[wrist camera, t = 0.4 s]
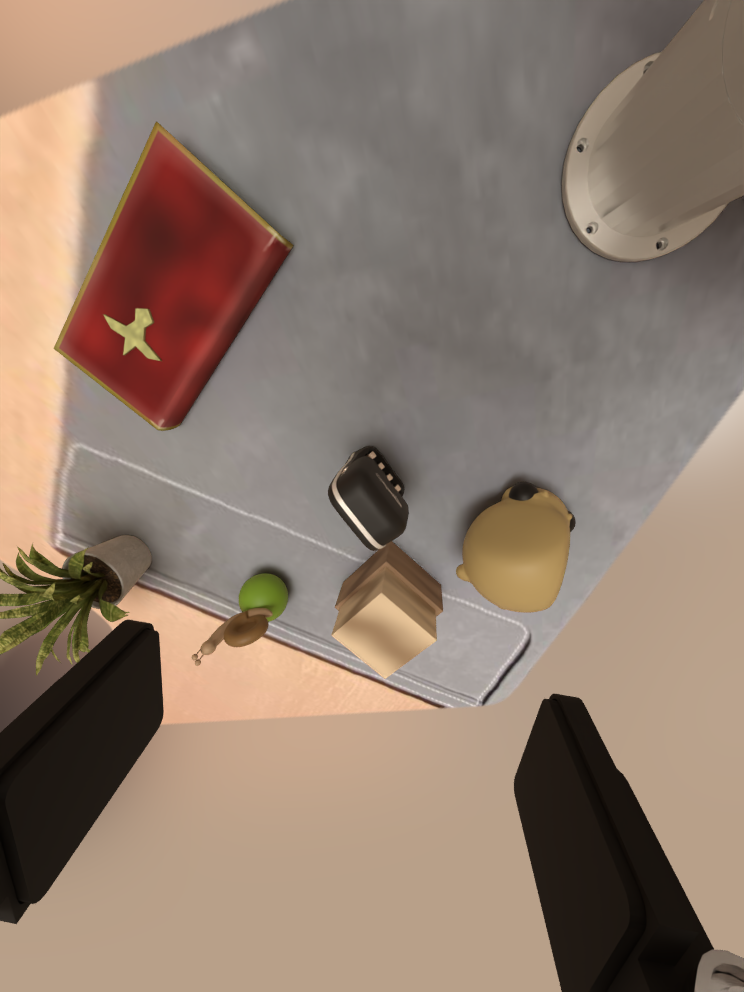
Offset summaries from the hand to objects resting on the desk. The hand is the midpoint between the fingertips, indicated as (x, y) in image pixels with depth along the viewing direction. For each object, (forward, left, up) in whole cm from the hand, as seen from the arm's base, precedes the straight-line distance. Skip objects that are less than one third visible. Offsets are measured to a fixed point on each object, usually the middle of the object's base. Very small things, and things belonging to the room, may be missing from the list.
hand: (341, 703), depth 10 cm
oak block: (+13, +11, -28) cm, 33 cm away
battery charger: (+5, +1, -33) cm, 33 cm away
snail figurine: (+25, +1, -33) cm, 41 cm away
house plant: (+32, -13, -33) cm, 48 cm away
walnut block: (+14, +11, -33) cm, 37 cm away
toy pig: (-1, +15, -33) cm, 36 cm away
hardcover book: (+6, -24, -33) cm, 41 cm away
